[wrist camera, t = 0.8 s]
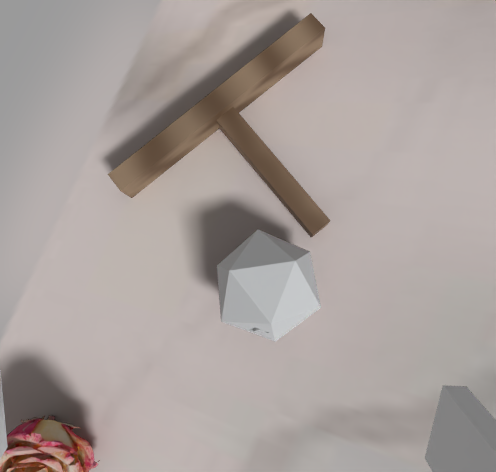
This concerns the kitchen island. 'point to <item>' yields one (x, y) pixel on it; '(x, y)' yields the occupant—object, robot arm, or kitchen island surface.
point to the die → (267, 286)
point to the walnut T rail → (235, 127)
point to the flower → (46, 448)
